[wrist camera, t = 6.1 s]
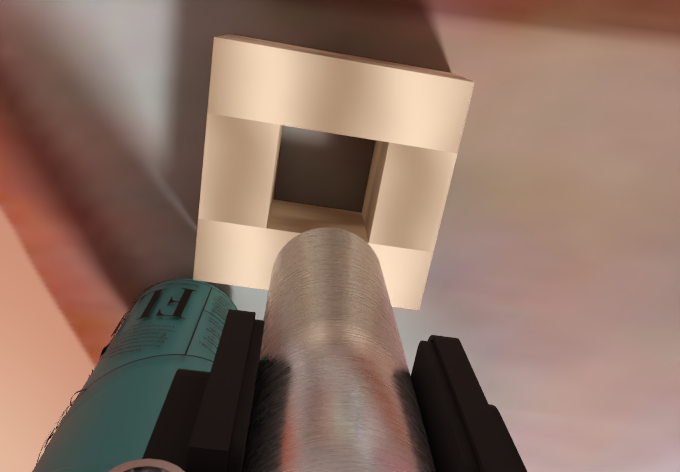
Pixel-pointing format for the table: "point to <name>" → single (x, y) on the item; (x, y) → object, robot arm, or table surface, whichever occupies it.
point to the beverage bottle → (138, 376)
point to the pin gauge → (333, 367)
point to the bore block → (333, 117)
